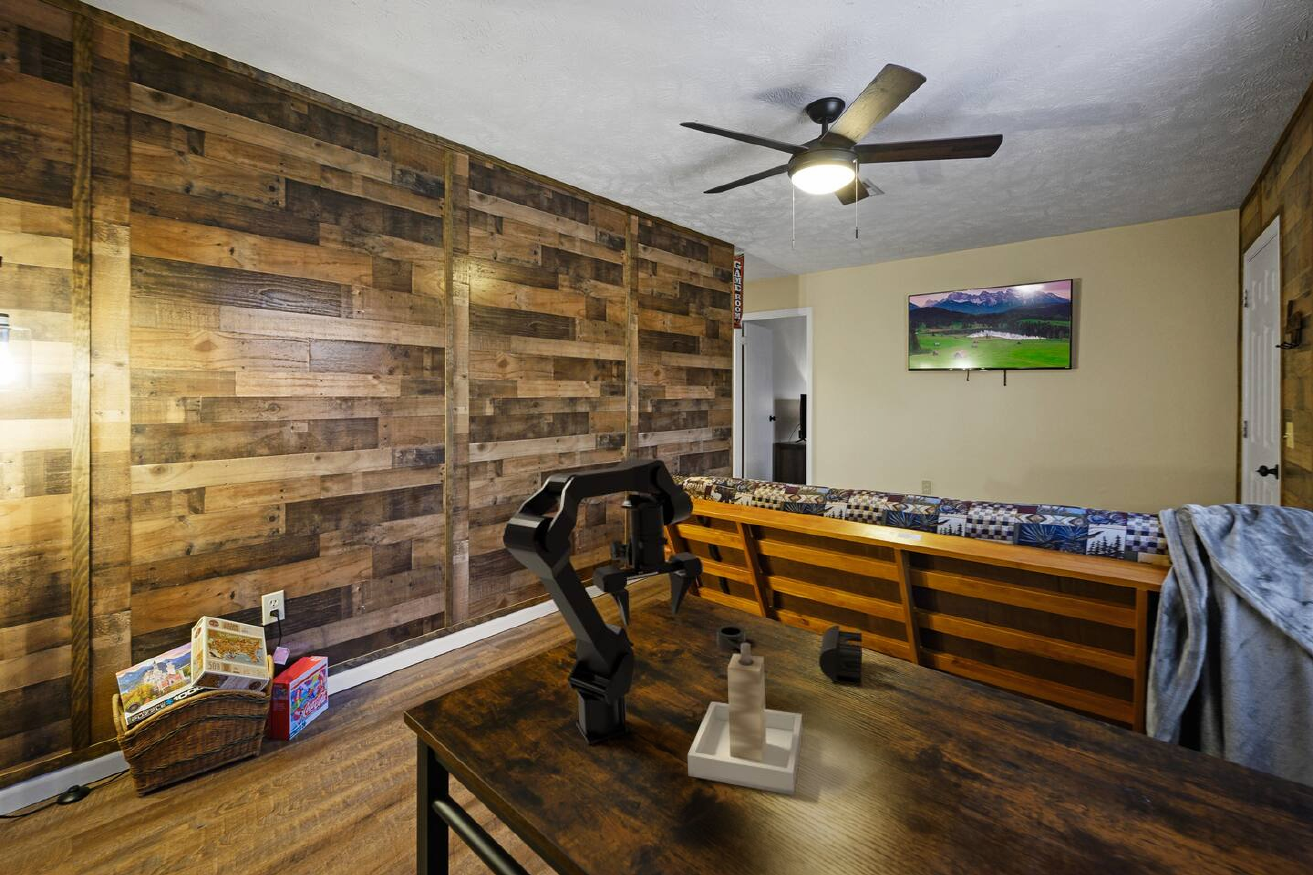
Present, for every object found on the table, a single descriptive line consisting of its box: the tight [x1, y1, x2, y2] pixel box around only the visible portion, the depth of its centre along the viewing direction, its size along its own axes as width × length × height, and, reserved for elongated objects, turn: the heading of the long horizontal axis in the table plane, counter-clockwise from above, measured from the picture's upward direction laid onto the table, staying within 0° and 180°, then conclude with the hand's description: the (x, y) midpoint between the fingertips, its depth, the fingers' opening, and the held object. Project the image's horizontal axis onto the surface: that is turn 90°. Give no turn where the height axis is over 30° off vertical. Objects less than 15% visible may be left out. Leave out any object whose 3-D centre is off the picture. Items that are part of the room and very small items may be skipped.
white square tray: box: [687, 701, 803, 796], centre depth 82 cm, size 14×14×3 cm
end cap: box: [818, 625, 863, 687], centre depth 105 cm, size 10×7×7 cm
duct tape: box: [715, 624, 746, 651], centre depth 118 cm, size 8×10×3 cm
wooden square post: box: [727, 642, 766, 761], centre depth 82 cm, size 4×4×16 cm
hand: (650, 619), depth 99 cm, fingers open, 9 cm apart
